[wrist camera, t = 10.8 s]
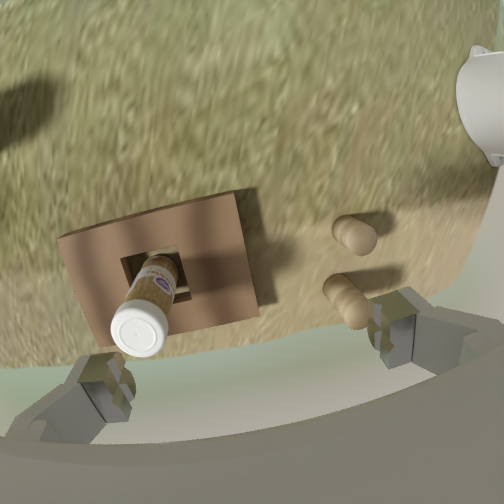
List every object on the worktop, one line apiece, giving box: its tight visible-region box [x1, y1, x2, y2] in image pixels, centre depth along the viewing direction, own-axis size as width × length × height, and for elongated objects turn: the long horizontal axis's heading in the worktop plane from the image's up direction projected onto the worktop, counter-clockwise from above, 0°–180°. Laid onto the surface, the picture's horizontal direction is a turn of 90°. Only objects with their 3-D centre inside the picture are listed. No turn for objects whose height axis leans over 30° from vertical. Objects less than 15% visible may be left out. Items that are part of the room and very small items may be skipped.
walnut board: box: [57, 191, 260, 348], centre depth 35 cm, size 20×14×2 cm
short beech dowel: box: [332, 215, 377, 256], centre depth 35 cm, size 3×3×5 cm
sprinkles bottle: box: [111, 255, 179, 357], centre depth 30 cm, size 5×5×14 cm
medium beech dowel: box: [323, 274, 371, 330], centre depth 36 cm, size 3×3×8 cm
